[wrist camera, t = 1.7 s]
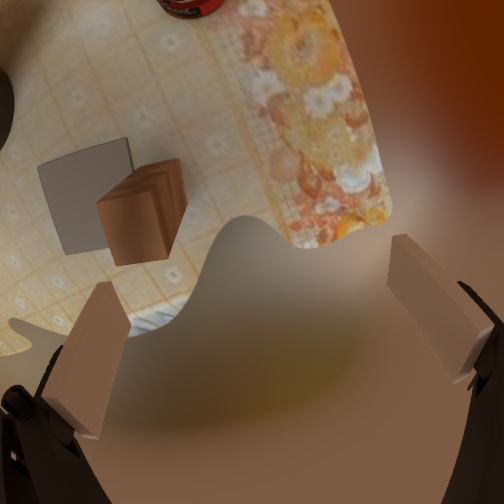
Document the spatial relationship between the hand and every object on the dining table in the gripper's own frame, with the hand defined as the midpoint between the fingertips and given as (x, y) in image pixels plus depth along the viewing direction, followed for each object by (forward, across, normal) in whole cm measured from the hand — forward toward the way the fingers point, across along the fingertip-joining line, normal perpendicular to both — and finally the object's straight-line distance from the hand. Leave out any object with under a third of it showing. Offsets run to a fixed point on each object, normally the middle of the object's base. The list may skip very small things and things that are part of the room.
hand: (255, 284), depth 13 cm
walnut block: (+25, -9, -1) cm, 27 cm away
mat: (+25, -20, 0) cm, 32 cm away
